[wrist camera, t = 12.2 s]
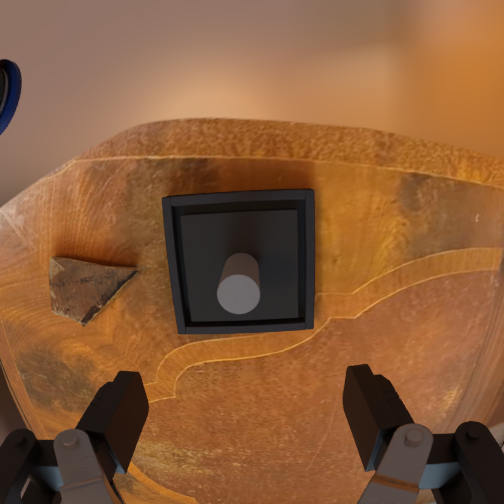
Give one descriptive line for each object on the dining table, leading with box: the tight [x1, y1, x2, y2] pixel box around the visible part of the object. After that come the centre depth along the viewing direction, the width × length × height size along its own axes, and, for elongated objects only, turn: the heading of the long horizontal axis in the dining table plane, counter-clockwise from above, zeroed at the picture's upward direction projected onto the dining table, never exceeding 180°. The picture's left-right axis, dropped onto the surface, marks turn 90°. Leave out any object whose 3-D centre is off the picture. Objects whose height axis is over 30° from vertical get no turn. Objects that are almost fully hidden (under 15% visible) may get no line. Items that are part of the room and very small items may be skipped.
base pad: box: [162, 189, 315, 334], centre depth 28 cm, size 13×13×2 cm
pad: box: [180, 208, 298, 321], centre depth 25 cm, size 10×10×7 cm
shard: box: [49, 257, 138, 327], centre depth 29 cm, size 11×8×2 cm
